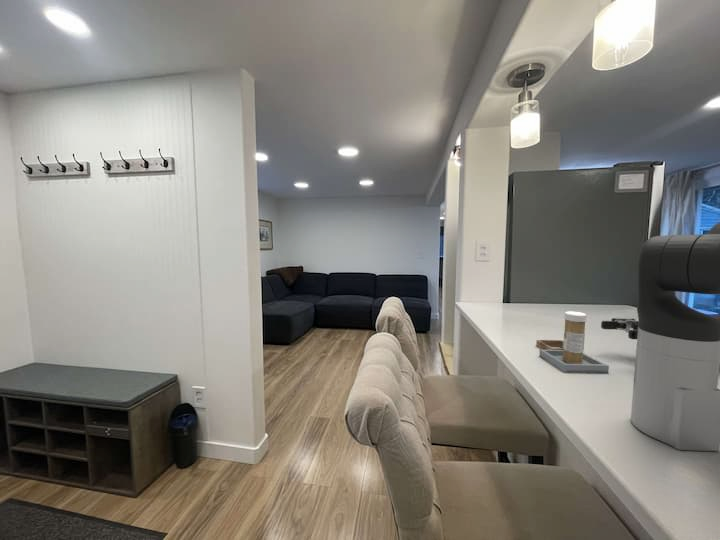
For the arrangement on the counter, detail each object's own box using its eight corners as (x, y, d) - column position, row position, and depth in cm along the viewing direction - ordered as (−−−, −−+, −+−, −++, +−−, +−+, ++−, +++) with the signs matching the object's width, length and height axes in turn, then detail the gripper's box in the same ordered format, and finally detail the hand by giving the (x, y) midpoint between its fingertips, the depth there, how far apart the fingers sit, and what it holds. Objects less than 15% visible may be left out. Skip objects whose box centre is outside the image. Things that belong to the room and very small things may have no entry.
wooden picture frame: (579, 355, 81) (579, 349, 81) (551, 355, 82) (552, 348, 82) (561, 346, 89) (561, 340, 89) (536, 346, 90) (536, 339, 89)
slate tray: (608, 373, 70) (608, 365, 70) (564, 372, 71) (564, 364, 70) (577, 356, 81) (578, 350, 80) (539, 356, 81) (539, 349, 81)
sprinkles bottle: (564, 357, 79) (567, 310, 78) (585, 362, 75) (588, 313, 74) (559, 361, 76) (562, 312, 75) (580, 367, 72) (583, 315, 71)
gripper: (654, 309, 80) (594, 309, 81) (714, 323, 66) (641, 322, 67) (651, 335, 81) (593, 335, 82) (711, 354, 67) (639, 353, 68)
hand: (615, 329), depth 74 cm, fingers open, 8 cm apart
